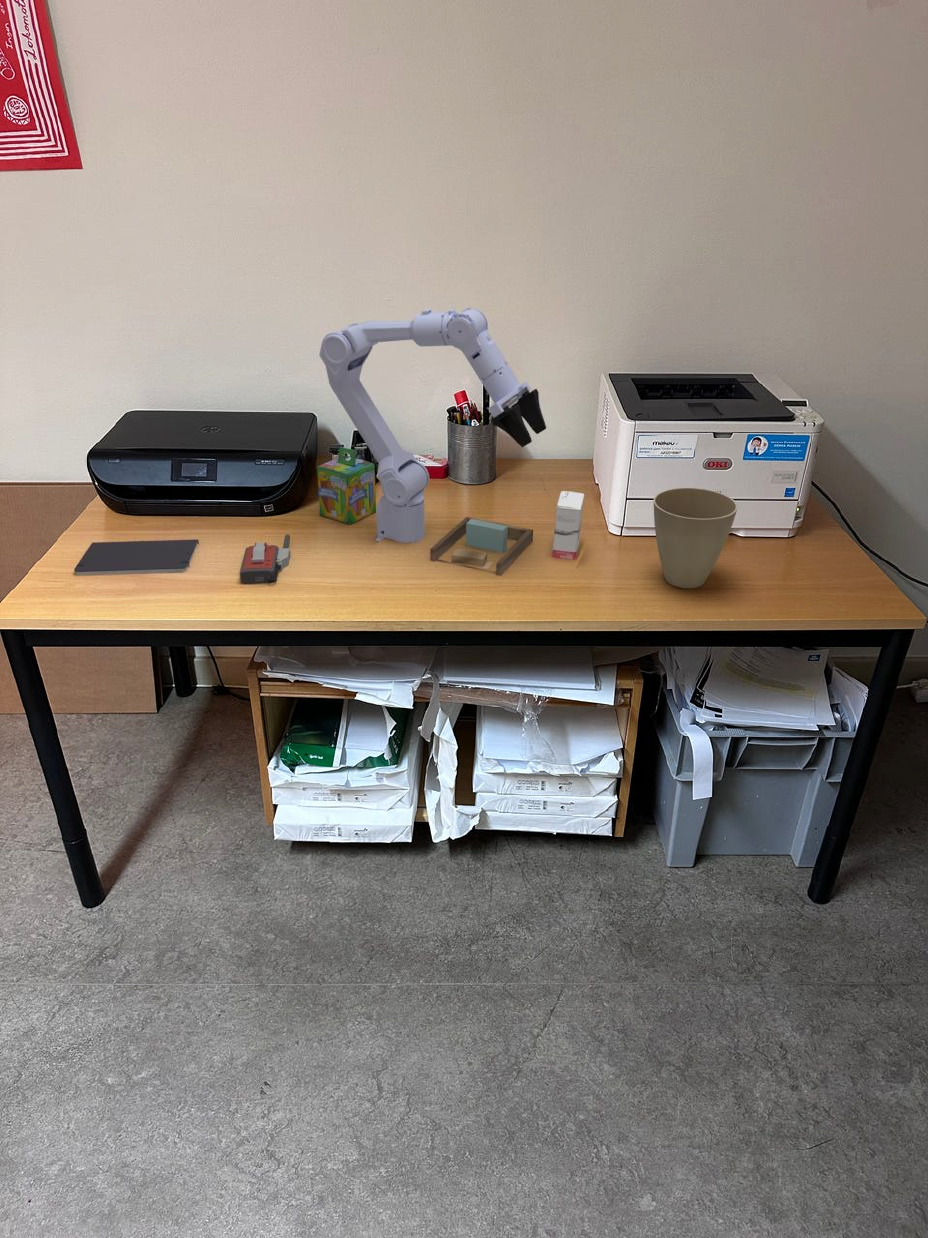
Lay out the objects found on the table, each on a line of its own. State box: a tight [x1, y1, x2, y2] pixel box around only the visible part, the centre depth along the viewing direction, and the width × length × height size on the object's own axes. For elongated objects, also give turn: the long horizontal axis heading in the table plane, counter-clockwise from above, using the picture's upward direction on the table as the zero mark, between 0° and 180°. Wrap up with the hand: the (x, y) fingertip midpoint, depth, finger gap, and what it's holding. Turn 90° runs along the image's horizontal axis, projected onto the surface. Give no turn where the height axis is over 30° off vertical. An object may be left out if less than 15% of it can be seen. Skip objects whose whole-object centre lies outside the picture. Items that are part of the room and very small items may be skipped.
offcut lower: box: [477, 560, 494, 570], centre depth 169 cm, size 8×3×2 cm, turn 66°
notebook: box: [73, 538, 200, 576], centre depth 171 cm, size 13×2×21 cm
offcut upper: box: [451, 548, 488, 567], centre depth 168 cm, size 6×3×2 cm, turn 73°
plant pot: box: [653, 486, 739, 589], centre depth 160 cm, size 15×15×16 cm
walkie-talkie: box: [239, 534, 292, 585], centre depth 169 cm, size 9×4×20 cm
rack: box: [429, 516, 534, 577], centre depth 172 cm, size 15×17×4 cm
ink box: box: [551, 490, 585, 560], centre depth 171 cm, size 9×5×12 cm, turn 168°
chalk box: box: [316, 446, 377, 526], centre depth 186 cm, size 9×9×15 cm
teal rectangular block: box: [465, 518, 508, 554], centre depth 173 cm, size 8×2×6 cm, turn 65°
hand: (534, 437), depth 157 cm, fingers open, 7 cm apart
